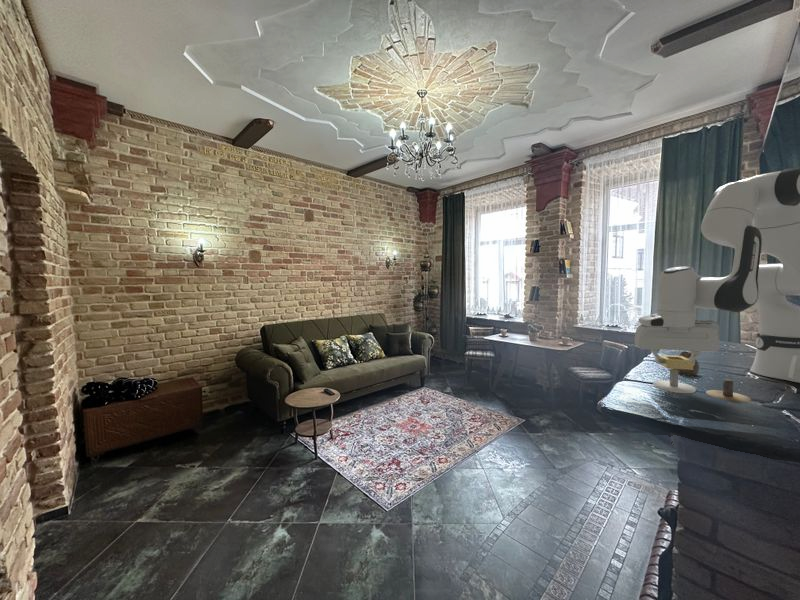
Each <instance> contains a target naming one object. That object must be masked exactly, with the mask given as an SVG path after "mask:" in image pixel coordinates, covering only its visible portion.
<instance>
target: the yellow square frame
mask: <svg viewBox="0 0 800 600" xmlns="http://www.w3.org/2000/svg"><path fill="white" fill-rule="evenodd" d="M658 355H659V357H661V358H663V364H659V365H661V367H664V368H666V369H669V370H670V369H689V370H693V361H692V360H689V359H687V358H685V357H683V356H679V355H667V354H666V355H664V354H658Z"/></svg>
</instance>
